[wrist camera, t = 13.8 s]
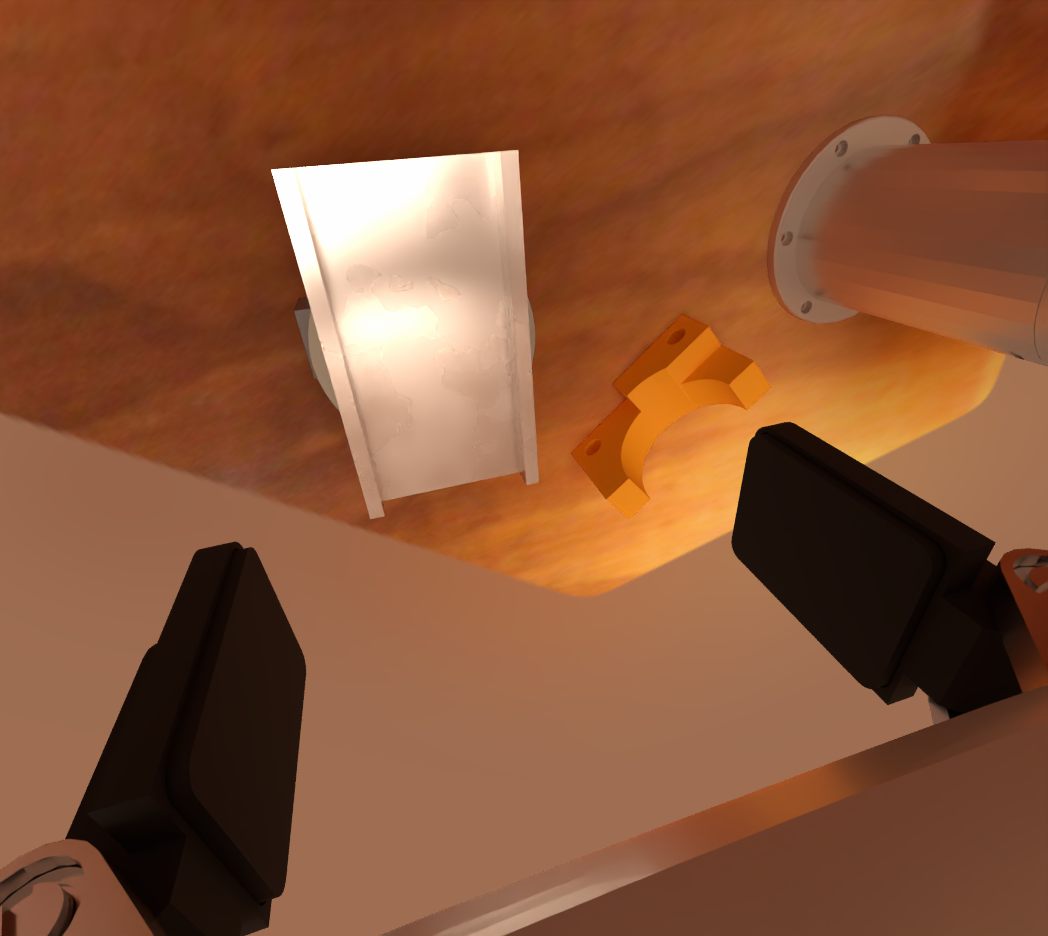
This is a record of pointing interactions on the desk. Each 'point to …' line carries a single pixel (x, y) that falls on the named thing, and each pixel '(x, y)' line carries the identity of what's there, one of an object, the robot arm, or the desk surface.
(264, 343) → the desk surface
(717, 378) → the pipe clamp
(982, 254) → the robot arm
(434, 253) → the cylinder with tray top
